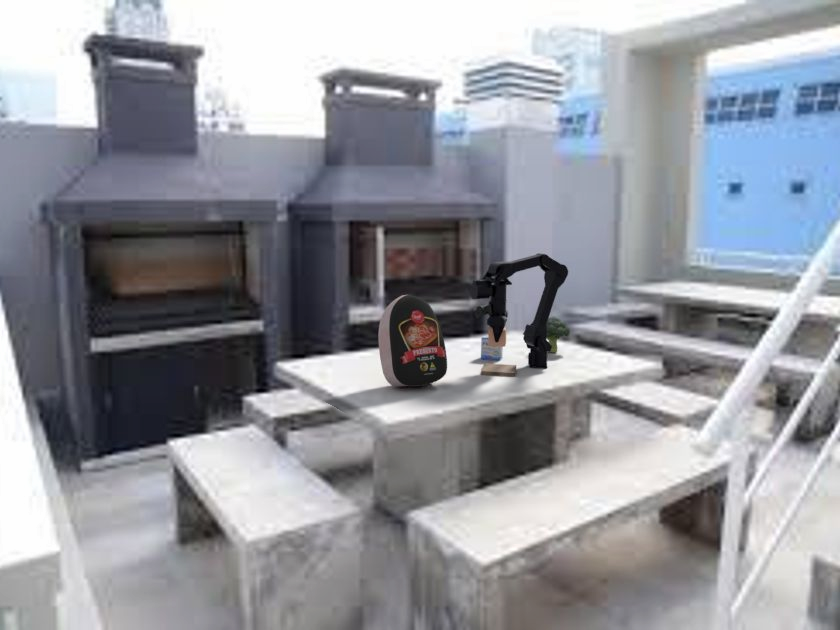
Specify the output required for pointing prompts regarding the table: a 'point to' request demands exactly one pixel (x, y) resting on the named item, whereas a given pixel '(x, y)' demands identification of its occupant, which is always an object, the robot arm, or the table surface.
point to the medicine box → (490, 350)
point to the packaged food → (411, 343)
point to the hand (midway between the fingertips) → (497, 340)
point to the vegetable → (556, 331)
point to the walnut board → (498, 369)
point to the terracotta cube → (492, 341)
